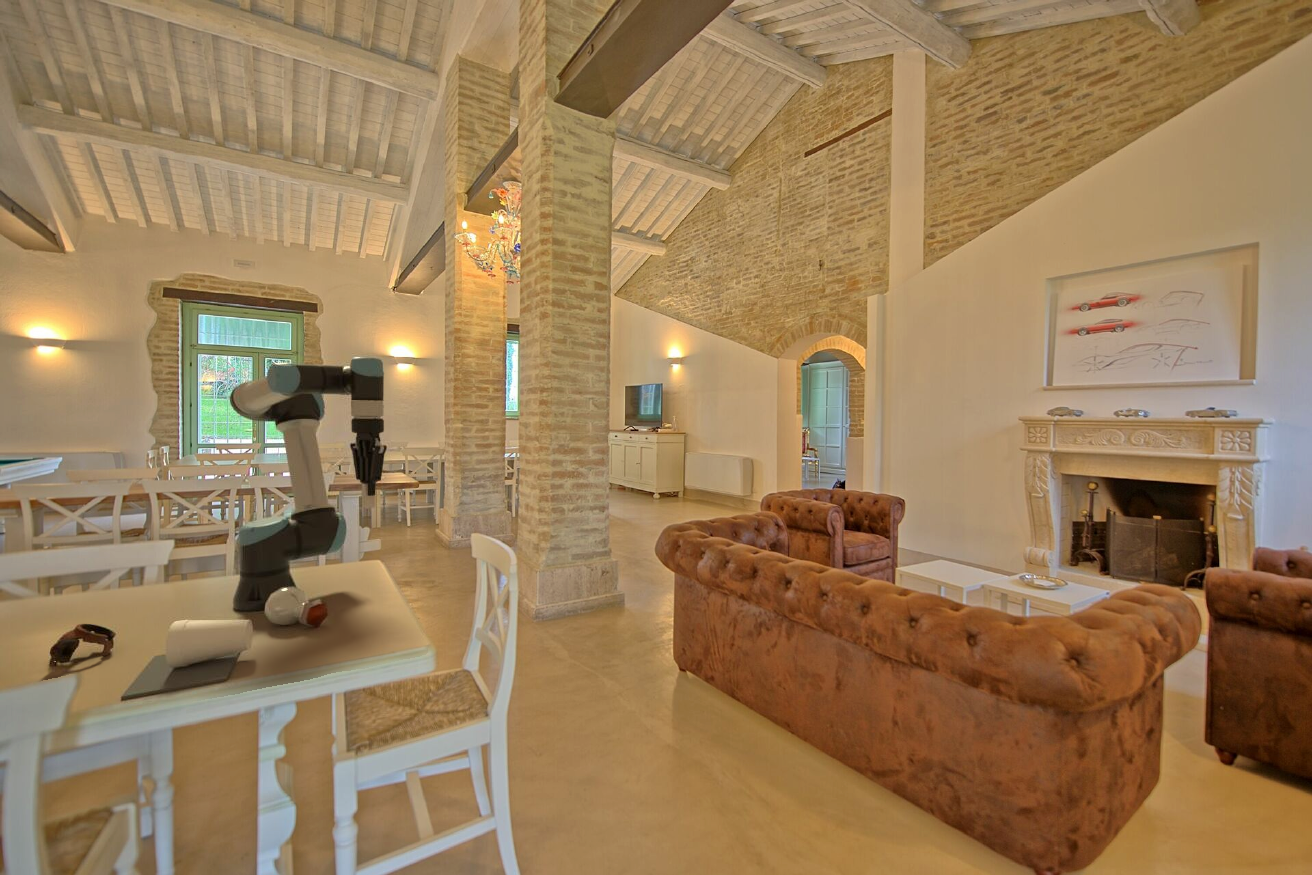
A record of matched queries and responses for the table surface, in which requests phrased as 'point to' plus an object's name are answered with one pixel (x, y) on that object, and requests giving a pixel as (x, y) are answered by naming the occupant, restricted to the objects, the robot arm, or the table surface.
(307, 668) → the table surface
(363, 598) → the table surface
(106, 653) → the brown curved ring piece
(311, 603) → the potion bottle
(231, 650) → the foam cup
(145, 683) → the mat
